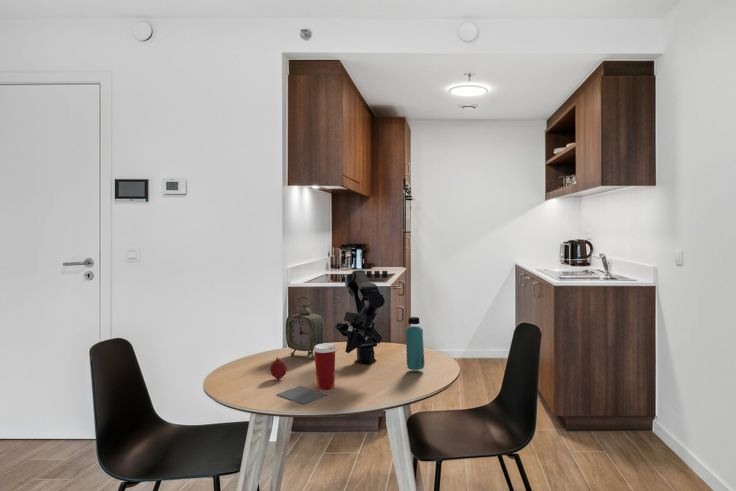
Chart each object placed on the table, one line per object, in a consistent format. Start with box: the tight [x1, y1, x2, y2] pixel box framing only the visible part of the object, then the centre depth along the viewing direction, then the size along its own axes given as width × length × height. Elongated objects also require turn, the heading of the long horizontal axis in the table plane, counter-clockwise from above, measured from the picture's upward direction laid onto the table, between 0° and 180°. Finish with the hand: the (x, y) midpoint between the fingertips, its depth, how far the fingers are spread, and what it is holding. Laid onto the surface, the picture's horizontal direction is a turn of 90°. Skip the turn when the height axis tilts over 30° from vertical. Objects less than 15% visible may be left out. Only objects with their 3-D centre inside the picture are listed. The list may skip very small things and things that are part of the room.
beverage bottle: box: [405, 316, 425, 371], centre depth 171 cm, size 6×7×20 cm
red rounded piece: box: [269, 356, 288, 380], centre depth 166 cm, size 6×6×8 cm
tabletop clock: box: [285, 296, 325, 360], centre depth 195 cm, size 14×9×25 cm, turn 58°
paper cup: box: [313, 342, 337, 391], centre depth 157 cm, size 8×8×14 cm
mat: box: [276, 385, 328, 405], centre depth 150 cm, size 13×10×1 cm
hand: (346, 352), depth 164 cm, fingers closed
